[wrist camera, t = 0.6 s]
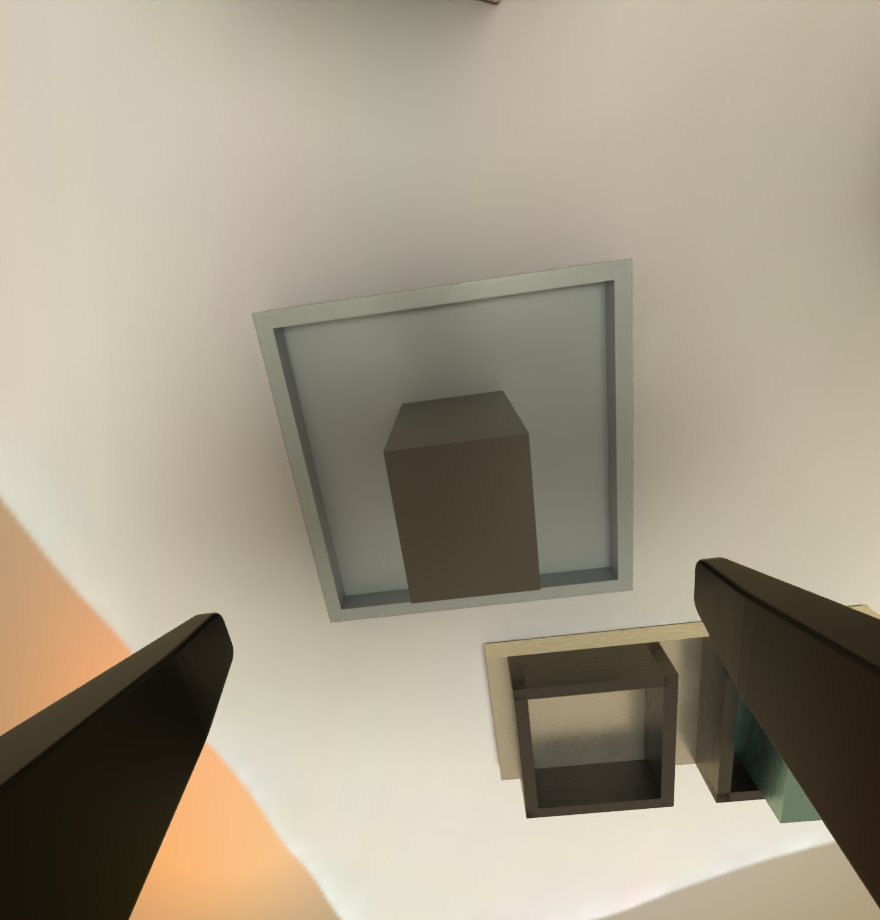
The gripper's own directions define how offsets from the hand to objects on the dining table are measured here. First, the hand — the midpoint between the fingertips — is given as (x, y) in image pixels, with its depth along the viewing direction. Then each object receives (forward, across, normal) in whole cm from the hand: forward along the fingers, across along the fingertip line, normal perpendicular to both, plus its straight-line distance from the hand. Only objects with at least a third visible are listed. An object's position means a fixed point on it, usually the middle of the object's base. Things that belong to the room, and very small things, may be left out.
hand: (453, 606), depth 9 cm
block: (+11, 0, +1) cm, 11 cm away
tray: (+11, 0, +1) cm, 11 cm away
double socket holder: (+12, -9, +15) cm, 21 cm away
